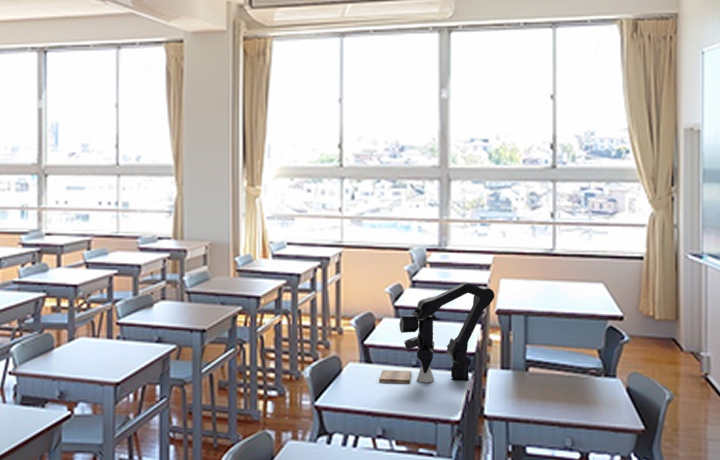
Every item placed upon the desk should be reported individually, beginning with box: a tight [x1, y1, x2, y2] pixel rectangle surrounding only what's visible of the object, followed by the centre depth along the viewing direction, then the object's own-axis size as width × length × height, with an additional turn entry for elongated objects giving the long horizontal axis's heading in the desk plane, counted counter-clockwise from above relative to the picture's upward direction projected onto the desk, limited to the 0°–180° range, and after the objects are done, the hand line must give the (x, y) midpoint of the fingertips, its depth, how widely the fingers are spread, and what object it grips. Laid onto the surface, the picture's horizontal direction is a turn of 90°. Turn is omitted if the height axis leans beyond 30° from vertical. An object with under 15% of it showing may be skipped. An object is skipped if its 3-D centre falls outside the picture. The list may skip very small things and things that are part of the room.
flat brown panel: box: [378, 369, 412, 384], centre depth 263 cm, size 12×12×2 cm
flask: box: [416, 364, 435, 384], centre depth 260 cm, size 7×7×10 cm
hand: (425, 369), depth 260 cm, fingers open, 9 cm apart
